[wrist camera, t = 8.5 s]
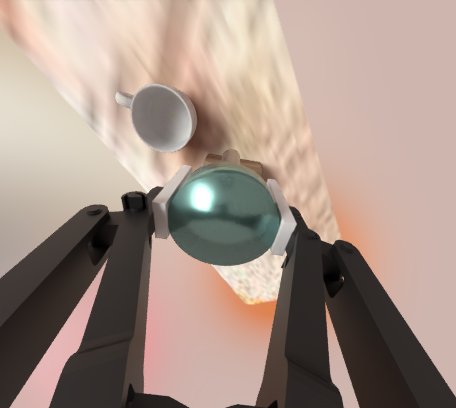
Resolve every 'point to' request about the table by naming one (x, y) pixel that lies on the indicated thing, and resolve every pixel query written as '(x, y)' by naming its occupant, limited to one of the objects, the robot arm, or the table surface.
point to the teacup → (161, 116)
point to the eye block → (250, 164)
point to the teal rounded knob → (224, 213)
